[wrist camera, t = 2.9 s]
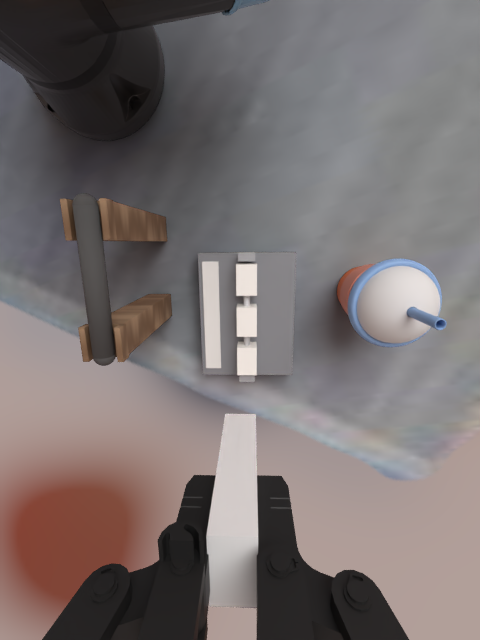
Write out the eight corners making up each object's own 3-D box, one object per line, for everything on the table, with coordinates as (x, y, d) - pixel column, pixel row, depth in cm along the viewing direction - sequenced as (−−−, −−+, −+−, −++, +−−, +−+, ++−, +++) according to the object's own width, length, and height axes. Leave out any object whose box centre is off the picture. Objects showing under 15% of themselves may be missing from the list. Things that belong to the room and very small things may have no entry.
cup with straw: (311, 286, 41) (355, 319, 23) (367, 239, 39) (460, 237, 22) (352, 335, 42) (423, 400, 25) (408, 292, 41) (526, 330, 23)
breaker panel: (201, 251, 40) (194, 252, 35) (293, 251, 40) (298, 252, 35) (206, 366, 44) (200, 381, 39) (289, 366, 44) (294, 382, 39)
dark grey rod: (78, 195, 24) (65, 191, 22) (101, 195, 24) (89, 191, 22) (100, 360, 27) (89, 368, 26) (120, 361, 27) (111, 369, 25)
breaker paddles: (236, 263, 37) (235, 264, 35) (256, 263, 37) (257, 264, 35) (238, 367, 40) (237, 375, 38) (256, 367, 40) (256, 375, 38)
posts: (140, 217, 40) (59, 199, 23) (167, 217, 39) (105, 198, 23) (148, 315, 43) (83, 361, 26) (173, 315, 43) (123, 361, 26)
